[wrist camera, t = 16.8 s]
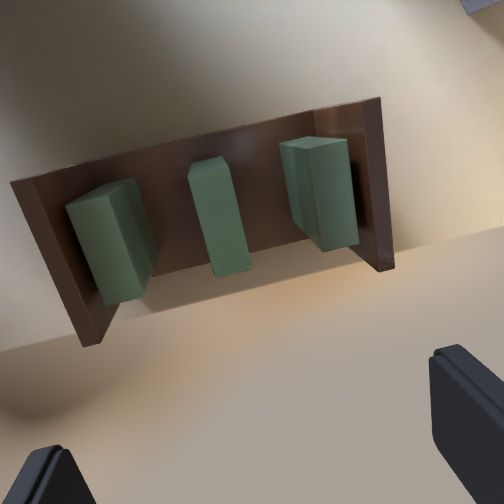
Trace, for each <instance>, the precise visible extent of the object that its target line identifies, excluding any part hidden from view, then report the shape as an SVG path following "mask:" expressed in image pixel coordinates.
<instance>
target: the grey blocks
mask: <svg viewBox="0 0 504 504" xmlns="http://www.w3.org/2000/svg"><path fill="white" fill-rule="evenodd" d="M499 1H502V0H461V2H462V4H463V6H464V8H465V10H466V13H467V15H469V14H472V13H474V12H476V11H479V10H481V9H483V8H485V7H488V6H490V5H492V4H495V3H497V2H499Z"/></svg>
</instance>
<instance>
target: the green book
mask: <svg viewBox="0 0 504 504" xmlns="http://www.w3.org/2000/svg"><path fill="white" fill-rule="evenodd" d="M187 178H188V181H189V185H190V189H191V192H192V196H193V200H194V203H195V207H196V211H197V214H198V218H199V222H200V225H201V229H202V232H203V236H204V240H205V243H206V247H207V251H208V254H209V258H210V262H211V265H212V269H213V273H214V276H215V278H219V277H223V276H227V275H231V274H235V273H239V272H243V271H247V270H251V269H252V264H251V260H250V256H249V251H248V247H247V243H246V238H245V234H244V230H243V226H242V221H241V217H240V213H239V208H238V204H237V200H236V195H235V191H234V187H233V183H232V178H231V174H230V170H229V166H228V165H227V163H226V162H225V160H224V159H223V157H222V156H219V157H215V158H210V159H206V160H202V161H198V162H193V163H192V165H191V168H190V170H189V173H188V176H187Z"/></svg>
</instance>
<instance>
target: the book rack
mask: <svg viewBox="0 0 504 504" xmlns="http://www.w3.org/2000/svg"><path fill="white" fill-rule="evenodd" d="M219 156H222V157H223V159H224V160H225V162H226V163H227V165H228V166H229V170H230V174H231V178H232V183H233V187H234V191H235V195H236V200H237V204H238V208H239V213H240V217H241V221H242V226H243V230H244V234H245V238H246V243H247V247H248V251H249V253H251V252H256V251H260V250H264V249H268V248H272V247H276V246H280V245H284V244H288V243H292V242H296V241H300V240H304V239H308V238H310V239H311V240H312V241H313V243H314V244H315V245H316V246H317V247H318V248H319V249H320V250H321V251H322V252H323V253H324V252H328V251H332V250H336V249H340V248H344V247H348V248H350V249H351V250H352V251H353V252H355V253H356V254H357V255H358V256H359V257H361V258H362V259H363V260H364V261H365V262H367V263H368V264H369V265H370V266H372V267H373V268H374V269H375V270H376V271H378V272H383V271H387V270H391V269H394V268H395V262H394V250H393V238H392V227H391V215H390V203H389V192H388V180H387V168H386V156H385V145H384V133H383V121H382V110H381V98H380V97H375V98H370V99H365V100H359V101H354V102H349V103H343V104H338V105H332V106H327V107H322V108H317V109H313V110H309V111H304V112H300V113H295V114H291V115H287V116H282V117H278V118H274V119H269V120H265V121H261V122H256V123H252V124H248V125H243V126H239V127H235V128H230V129H226V130H222V131H217V132H213V133H209V134H204V135H200V136H196V137H191V138H187V139H183V140H178V141H174V142H170V143H165V144H161V145H156V146H152V147H148V148H143V149H139V150H135V151H130V152H126V153H122V154H117V155H113V156H109V157H104V158H100V159H96V160H91V161H87V162H83V163H78V164H74V165H71V166H67V167H63V168H60V169H56V170H52V171H49V172H45V173H41V174H37V175H34V176H30V177H26V178H23V179H19V180H15V181H12V182H10V184H11V187H12V189H13V191H14V193H15V196H16V198H17V200H18V202H19V205H20V207H21V209H22V211H23V214H24V216H25V218H26V220H27V223H28V225H29V227H30V229H31V232H32V234H33V236H34V238H35V241H36V243H37V245H38V247H39V250H40V252H41V254H42V256H43V259H44V261H45V263H46V265H47V268H48V270H49V272H50V274H51V277H52V279H53V281H54V283H55V286H56V288H57V290H58V292H59V295H60V297H61V299H62V301H63V304H64V306H65V308H66V310H67V313H68V315H69V317H70V319H71V322H72V324H73V326H74V328H75V331H76V333H77V335H78V337H79V340H80V342H81V344H82V346H83V347H87V346H91V345H95V344H99V343H101V341H102V339H103V337H104V335H105V333H106V331H107V329H108V327H109V325H110V323H111V321H112V319H113V317H114V315H115V313H116V311H117V309H118V307H119V305H120V303H122V302H126V301H130V300H134V299H138V298H142V297H143V296H144V294H145V291H146V288H147V285H148V283H149V280H150V277H154V276H158V275H162V274H166V273H170V272H174V271H178V270H183V269H187V268H191V267H195V266H199V265H203V264H207V263H211V262H210V258H209V254H208V251H207V247H206V243H205V240H204V236H203V232H202V229H201V225H200V222H199V218H198V214H197V211H196V207H195V203H194V200H193V196H192V192H191V189H190V185H189V181H188V178H187V176H188V173H189V170H190V168H191V165H192V163H193V162H198V161H202V160H206V159H210V158H215V157H219Z"/></svg>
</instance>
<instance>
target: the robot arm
mask: <svg viewBox="0 0 504 504" xmlns="http://www.w3.org/2000/svg"><path fill="white" fill-rule="evenodd" d="M429 377H430V396H431V417H432V434H433V439H434V442H435V445H436V446H437V448H438V450H439V451H440V453H441V454H442V456H443V457H444V459H445V460H446V461H447V463H448V464H449V466H450V467H451V468H452V470H453V471H454V473H455V474H456V475H457V477H458V478H459V480H460V481H461V482H462V484H463V485H464V487H465V488H466V489H467V491H468V492H469V493H470V495H471V496H472V498H473V499H474V500H475V502H476V503H477V504H504V382H503V381H502V380H501V379H500V378H498V377H497V376H496V375H495V374H494V373H493V372H491V371H490V370H489V369H488V368H487V367H486V366H484V365H483V364H482V363H481V362H480V361H479V360H477V359H476V358H475V357H474V356H472V354H470V353H469V352H468V351H467V350H466V349H465V348H463V347H462V346H461V345H458V344H456V345H452V346H448V347H444V348H440V349H436V350H435V351H434V356H433V357H430V358H429ZM2 504H96V502H95V500H94V498H93V496H92V494H91V492H90V490H89V488H88V486H87V484H86V482H85V480H84V478H83V476H82V474H81V472H80V470H79V468H78V466H77V465H76V462H75V460H74V458H73V456H72V454H71V453H70V451H69V450H68V449H63V448H62V446H60V445H53V446H49V447H45V448H41V449H37V450H34V451H33V452H31V453H30V455H29V456H28V458H27V460H26V461H25V463H24V465H23V467H22V469H21V470H20V472H19V474H18V476H17V478H16V480H15V481H14V483H13V485H12V487H11V489H10V490H9V492H8V494H7V496H6V498H5V499H4V501H3V503H2Z"/></svg>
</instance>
